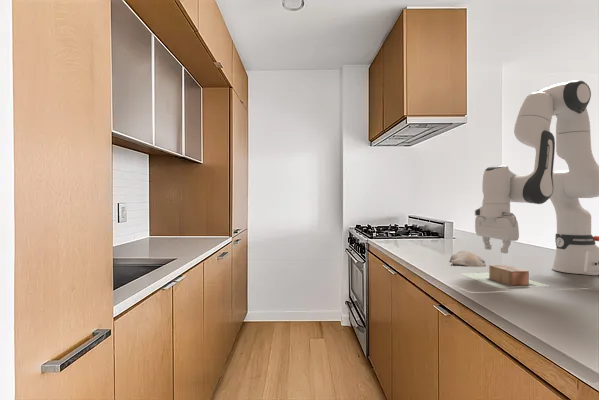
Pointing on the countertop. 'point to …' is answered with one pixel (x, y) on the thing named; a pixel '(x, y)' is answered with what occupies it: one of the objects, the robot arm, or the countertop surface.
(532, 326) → the countertop surface
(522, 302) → the countertop surface
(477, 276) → the sage mat
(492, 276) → the walnut block
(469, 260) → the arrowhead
